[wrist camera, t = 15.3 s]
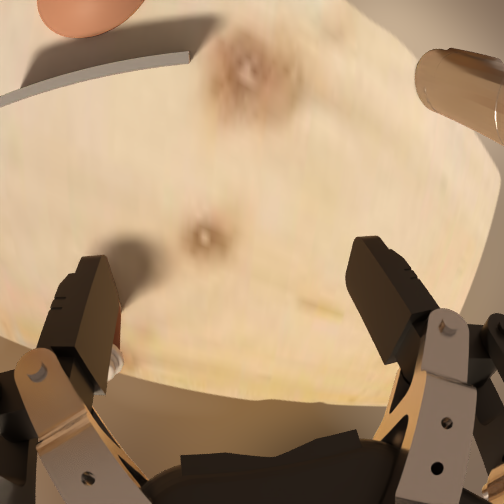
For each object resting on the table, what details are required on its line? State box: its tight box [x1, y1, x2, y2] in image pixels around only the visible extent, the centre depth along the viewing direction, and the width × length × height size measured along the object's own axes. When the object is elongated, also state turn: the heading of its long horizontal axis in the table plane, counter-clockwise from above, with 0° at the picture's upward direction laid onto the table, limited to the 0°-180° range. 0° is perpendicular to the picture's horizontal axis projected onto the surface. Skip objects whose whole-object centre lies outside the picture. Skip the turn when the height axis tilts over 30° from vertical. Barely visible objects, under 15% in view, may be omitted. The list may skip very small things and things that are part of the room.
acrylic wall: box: [0, 51, 190, 108], centre depth 25 cm, size 20×1×5 cm, turn 91°
